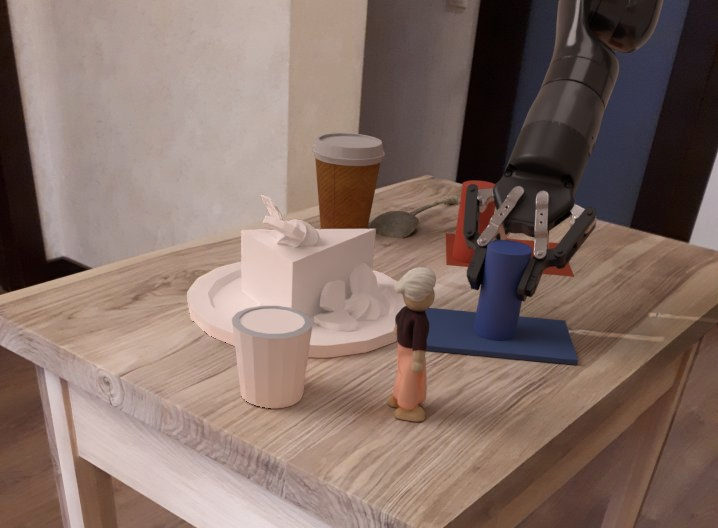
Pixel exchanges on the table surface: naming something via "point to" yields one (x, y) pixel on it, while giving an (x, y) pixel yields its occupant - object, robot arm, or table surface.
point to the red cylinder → (460, 248)
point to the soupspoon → (403, 220)
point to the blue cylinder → (501, 289)
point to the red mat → (550, 270)
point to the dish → (303, 285)
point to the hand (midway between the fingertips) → (497, 291)
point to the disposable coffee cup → (346, 178)
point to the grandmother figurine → (412, 343)
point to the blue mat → (529, 342)
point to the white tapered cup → (272, 354)
